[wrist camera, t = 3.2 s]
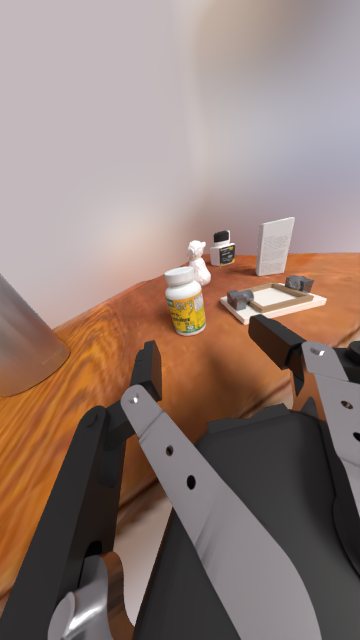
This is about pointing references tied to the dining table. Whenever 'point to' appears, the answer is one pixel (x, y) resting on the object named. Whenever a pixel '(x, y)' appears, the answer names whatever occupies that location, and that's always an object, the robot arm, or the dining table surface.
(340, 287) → the dining table surface
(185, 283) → the supplement bottle
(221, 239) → the medicine bottle
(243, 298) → the shaft stubs
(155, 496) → the dining table surface
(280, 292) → the coupling board
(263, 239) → the skincare box
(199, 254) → the white creature statuette
